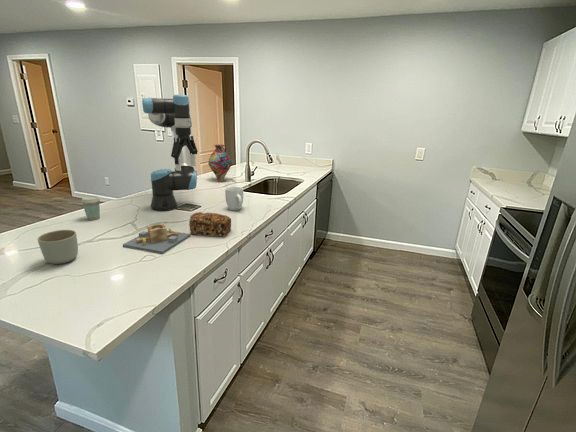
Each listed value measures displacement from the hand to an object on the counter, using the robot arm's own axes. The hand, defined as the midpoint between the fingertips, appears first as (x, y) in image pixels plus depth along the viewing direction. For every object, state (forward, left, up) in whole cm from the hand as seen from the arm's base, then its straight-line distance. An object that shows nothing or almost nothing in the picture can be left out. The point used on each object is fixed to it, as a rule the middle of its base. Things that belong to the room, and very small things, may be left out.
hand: (186, 168), depth 169 cm
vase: (-29, +90, -29) cm, 99 cm away
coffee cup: (-48, -19, -29) cm, 59 cm away
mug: (+16, +25, -29) cm, 42 cm away
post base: (+4, -32, -29) cm, 43 cm away
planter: (-19, -61, -29) cm, 70 cm away
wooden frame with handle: (+4, -32, -28) cm, 42 cm away
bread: (+21, -13, -29) cm, 38 cm away
